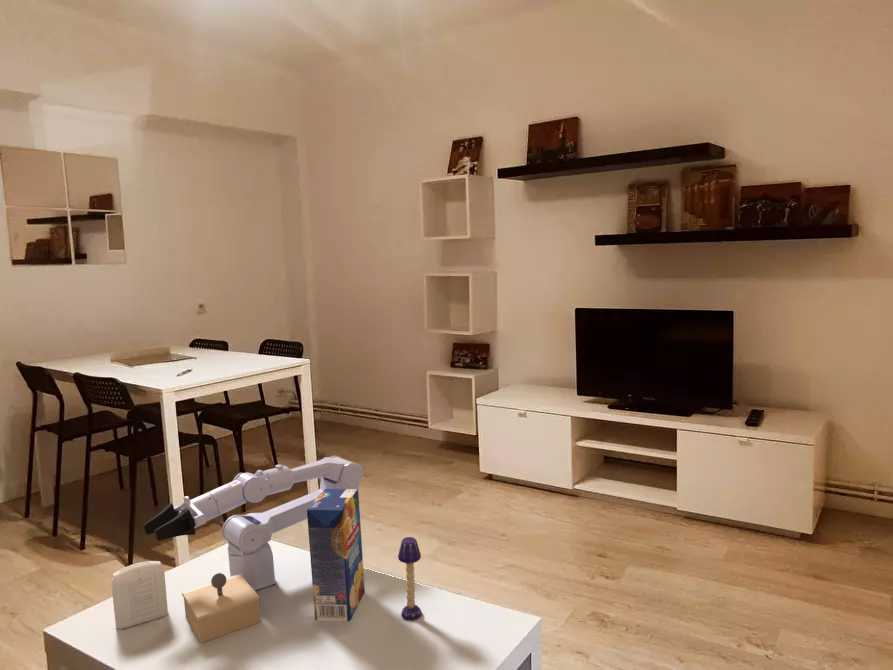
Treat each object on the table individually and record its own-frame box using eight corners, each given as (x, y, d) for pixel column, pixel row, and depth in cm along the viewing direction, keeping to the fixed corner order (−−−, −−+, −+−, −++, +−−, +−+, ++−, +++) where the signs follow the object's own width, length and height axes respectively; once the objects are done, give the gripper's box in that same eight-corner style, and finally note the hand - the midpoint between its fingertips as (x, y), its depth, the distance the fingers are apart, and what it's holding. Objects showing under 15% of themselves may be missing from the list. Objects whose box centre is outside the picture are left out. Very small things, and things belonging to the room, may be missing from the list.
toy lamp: (427, 611, 141) (423, 535, 139) (418, 623, 136) (414, 545, 134) (406, 608, 143) (402, 533, 140) (396, 619, 138) (392, 542, 136)
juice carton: (350, 622, 138) (342, 510, 135) (315, 620, 139) (306, 510, 136) (364, 592, 150) (358, 488, 147) (332, 591, 151) (325, 488, 148)
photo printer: (166, 607, 147) (160, 553, 146) (170, 615, 144) (164, 560, 142) (114, 623, 142) (107, 567, 140) (117, 632, 138) (110, 575, 137)
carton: (241, 598, 150) (239, 577, 149) (260, 621, 140) (258, 599, 139) (185, 616, 143) (183, 595, 142) (200, 643, 133) (198, 619, 132)
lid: (240, 576, 149) (238, 554, 149) (259, 599, 139) (257, 576, 138) (182, 594, 142) (179, 572, 142) (197, 620, 132) (195, 595, 131)
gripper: (195, 484, 153) (134, 510, 145) (219, 491, 142) (155, 520, 134) (204, 512, 154) (144, 540, 146) (229, 522, 143) (165, 553, 135)
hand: (150, 533), depth 140 cm, fingers open, 7 cm apart
